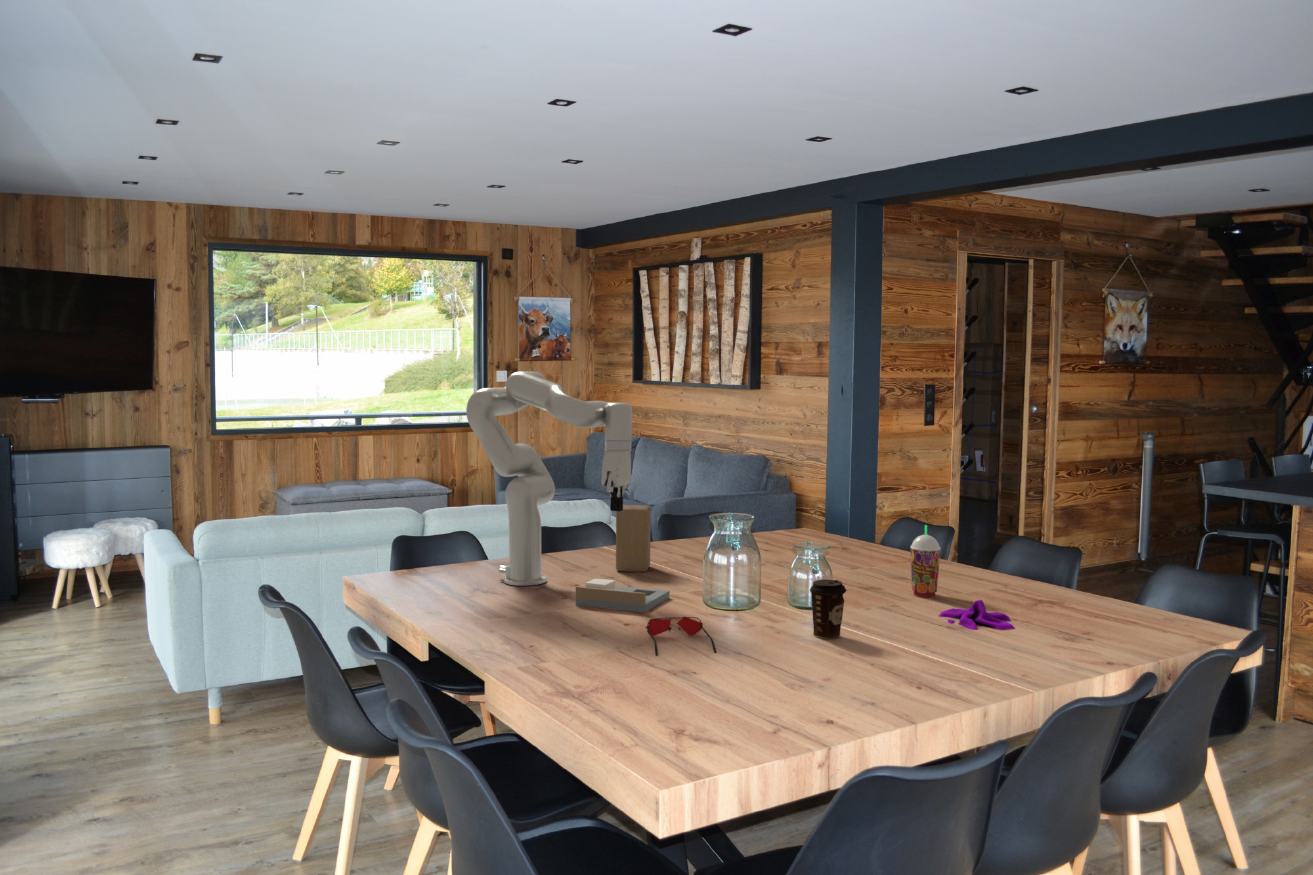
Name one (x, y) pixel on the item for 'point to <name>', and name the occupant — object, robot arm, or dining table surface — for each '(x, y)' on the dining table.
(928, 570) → the smoothie
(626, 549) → the block
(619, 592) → the board
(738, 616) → the dining table surface
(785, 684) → the dining table surface
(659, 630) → the glasses
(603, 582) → the cream block
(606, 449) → the robot arm
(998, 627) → the cloth
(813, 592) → the coffee cup
